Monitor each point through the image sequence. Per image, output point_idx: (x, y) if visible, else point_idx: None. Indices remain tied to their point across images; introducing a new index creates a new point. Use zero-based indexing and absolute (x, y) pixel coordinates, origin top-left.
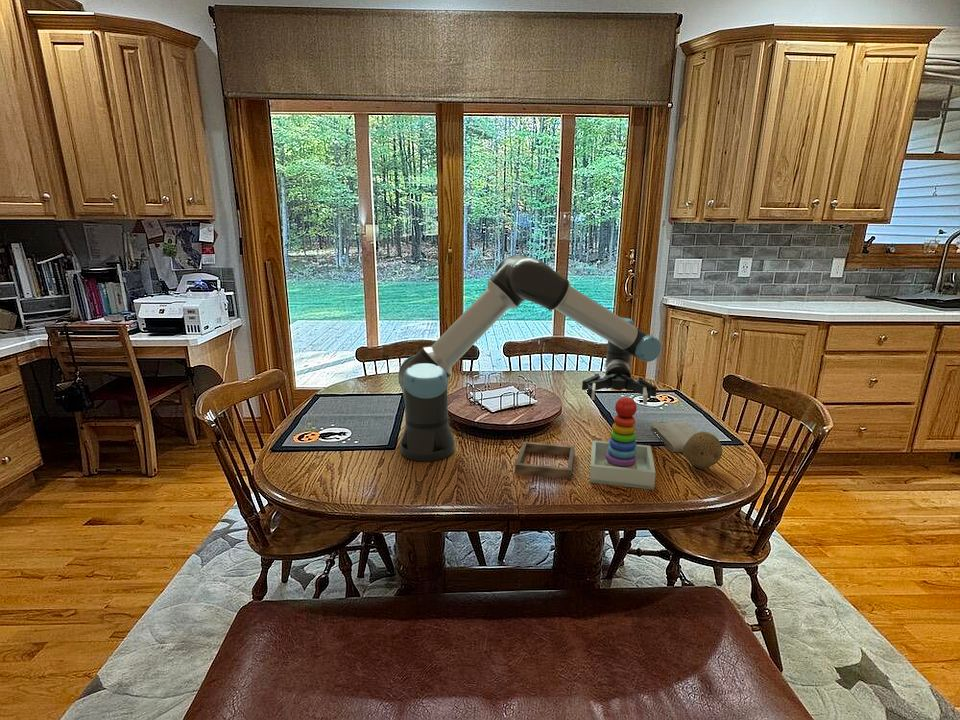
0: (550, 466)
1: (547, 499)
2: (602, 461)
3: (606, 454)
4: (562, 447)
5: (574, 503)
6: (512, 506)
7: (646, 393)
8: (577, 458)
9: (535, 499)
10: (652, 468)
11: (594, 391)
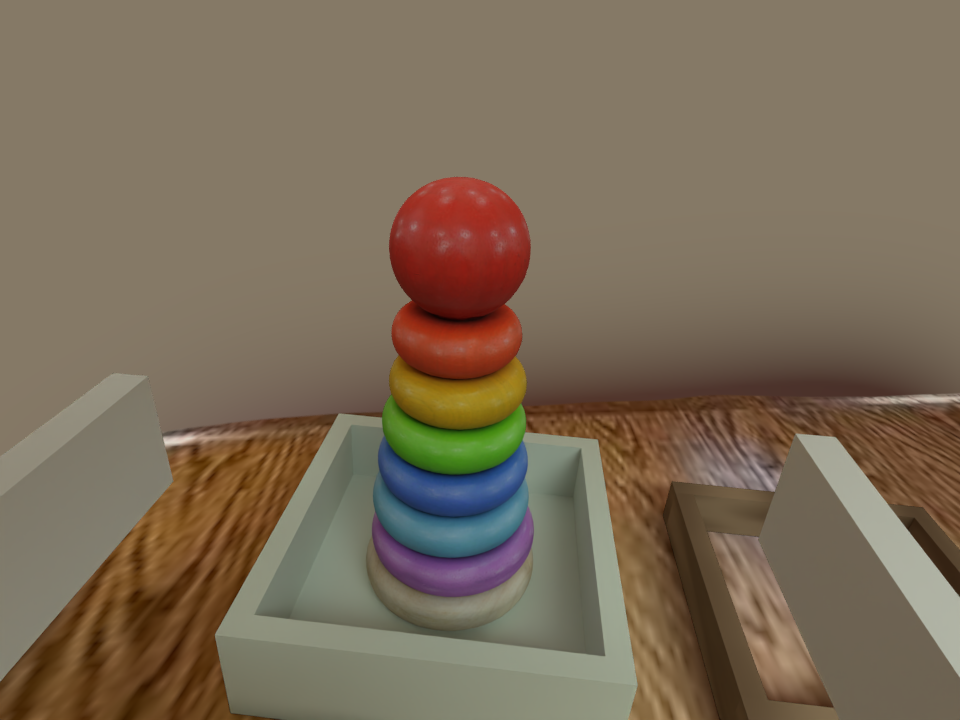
0: (769, 502)
1: (698, 426)
2: (540, 627)
3: (530, 517)
4: (826, 711)
5: (615, 416)
6: (775, 404)
7: (81, 406)
8: (694, 711)
9: (732, 426)
10: (337, 433)
11: (795, 444)
